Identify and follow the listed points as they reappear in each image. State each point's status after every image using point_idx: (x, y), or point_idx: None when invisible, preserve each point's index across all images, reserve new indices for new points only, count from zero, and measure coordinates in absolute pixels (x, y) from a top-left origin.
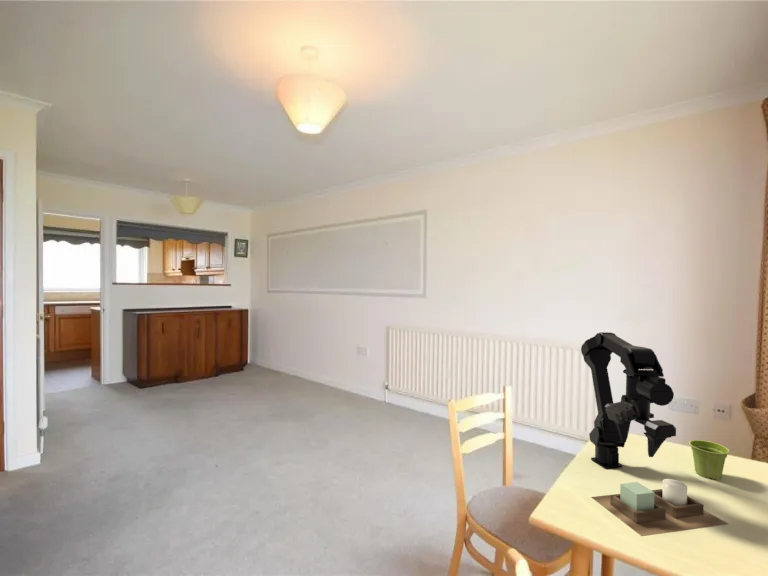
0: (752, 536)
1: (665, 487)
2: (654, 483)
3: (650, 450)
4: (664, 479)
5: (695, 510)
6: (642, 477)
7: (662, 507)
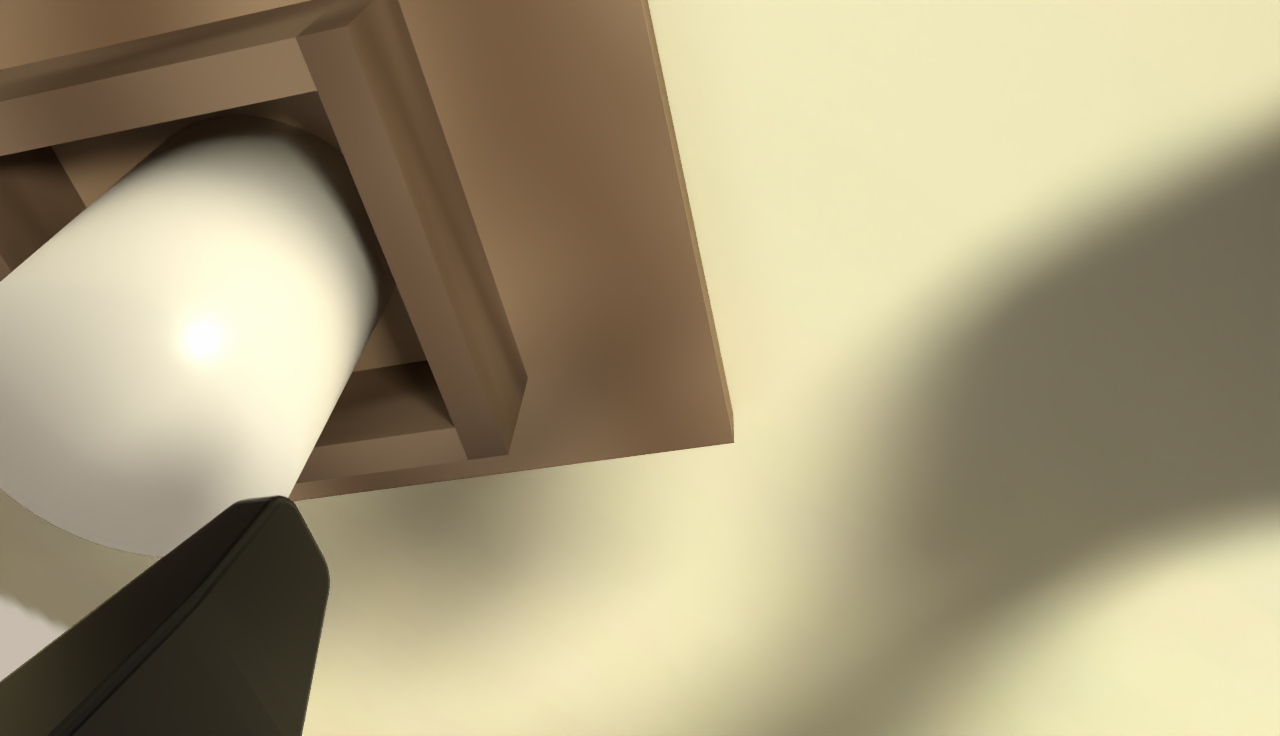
0: (34, 577)
1: (73, 255)
2: (944, 401)
3: (10, 675)
4: (250, 379)
5: None
6: (1118, 357)
7: (129, 50)
